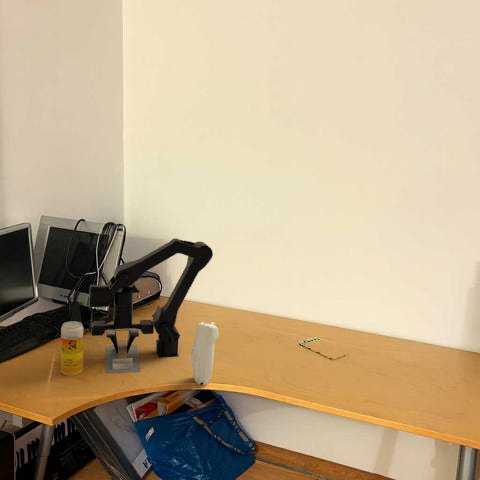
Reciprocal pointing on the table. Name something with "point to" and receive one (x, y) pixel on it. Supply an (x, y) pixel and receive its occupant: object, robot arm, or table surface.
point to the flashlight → (204, 351)
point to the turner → (122, 357)
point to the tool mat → (112, 355)
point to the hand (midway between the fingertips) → (122, 353)
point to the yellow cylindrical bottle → (71, 348)
